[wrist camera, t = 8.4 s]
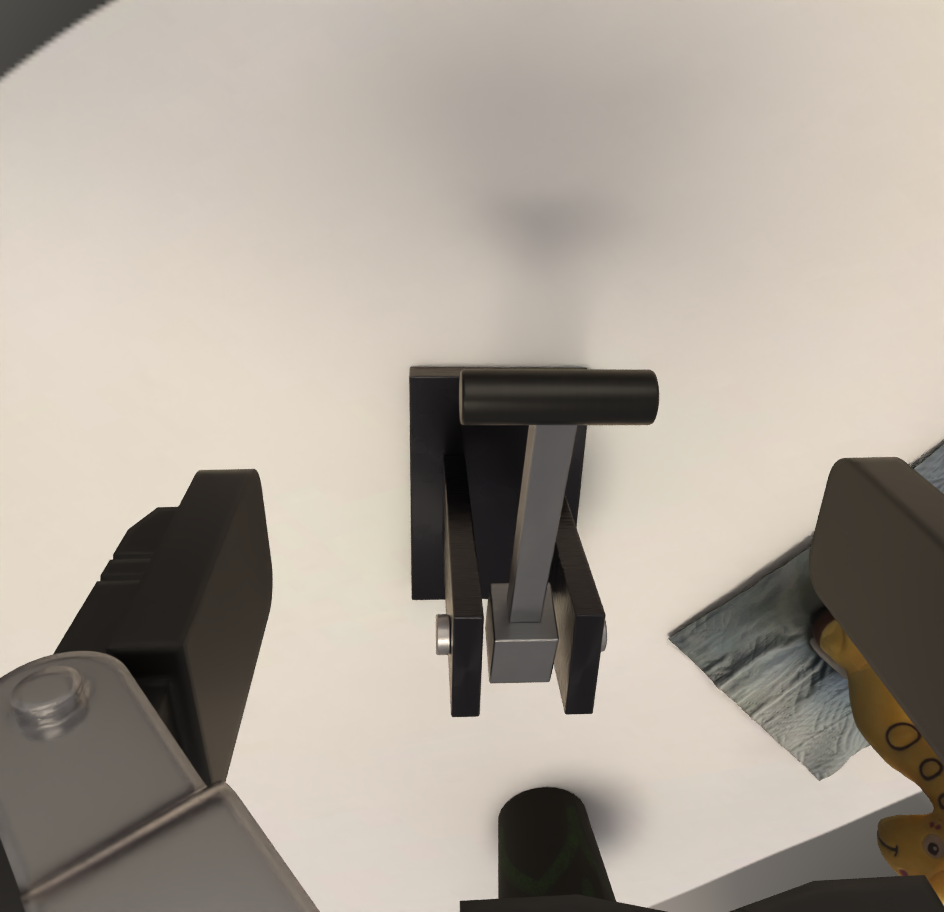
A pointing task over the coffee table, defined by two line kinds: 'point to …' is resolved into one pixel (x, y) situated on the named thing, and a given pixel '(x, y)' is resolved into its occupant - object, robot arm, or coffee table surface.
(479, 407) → the lever
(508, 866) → the cup
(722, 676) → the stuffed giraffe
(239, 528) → the robot arm
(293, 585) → the coffee table surface
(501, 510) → the bracket
